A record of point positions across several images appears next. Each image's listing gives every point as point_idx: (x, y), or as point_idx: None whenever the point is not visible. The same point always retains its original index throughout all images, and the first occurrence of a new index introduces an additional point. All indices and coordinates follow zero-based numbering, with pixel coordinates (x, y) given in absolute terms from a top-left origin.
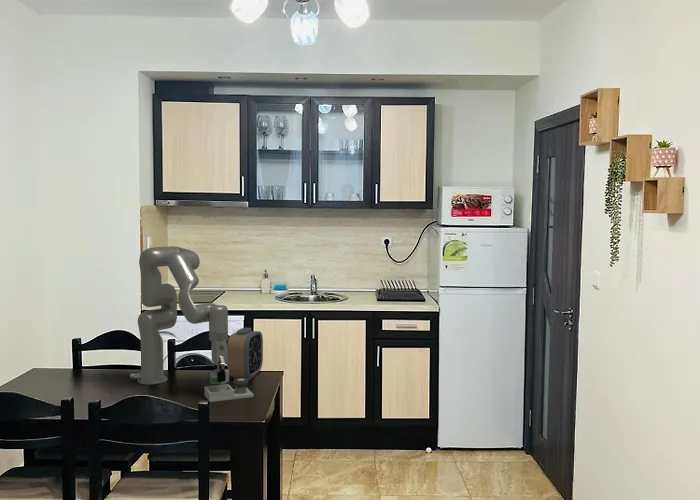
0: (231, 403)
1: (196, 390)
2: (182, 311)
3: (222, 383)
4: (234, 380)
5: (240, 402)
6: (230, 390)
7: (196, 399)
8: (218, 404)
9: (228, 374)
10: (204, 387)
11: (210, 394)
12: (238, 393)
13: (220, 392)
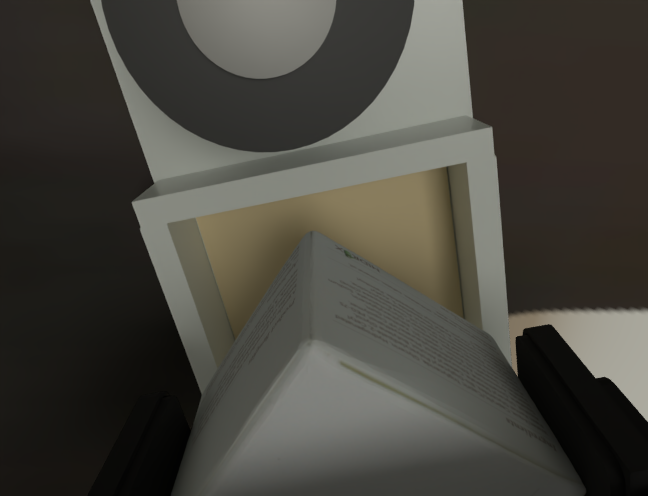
0: (619, 149)
1: (80, 462)
2: None
3: (491, 339)
4: (278, 133)
5: (623, 37)
6: (476, 182)
7: None
8: (599, 281)
9: (340, 301)
10: None
11: None
12: None
13: (506, 305)
